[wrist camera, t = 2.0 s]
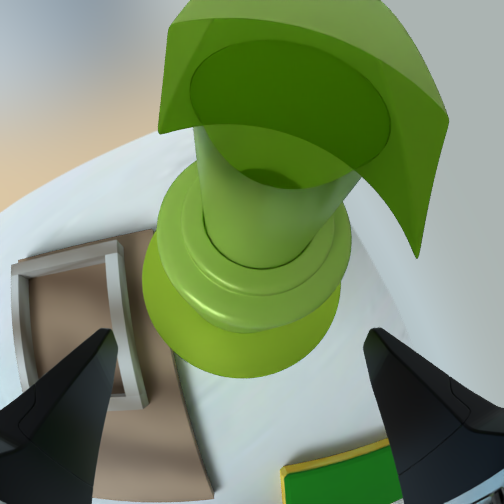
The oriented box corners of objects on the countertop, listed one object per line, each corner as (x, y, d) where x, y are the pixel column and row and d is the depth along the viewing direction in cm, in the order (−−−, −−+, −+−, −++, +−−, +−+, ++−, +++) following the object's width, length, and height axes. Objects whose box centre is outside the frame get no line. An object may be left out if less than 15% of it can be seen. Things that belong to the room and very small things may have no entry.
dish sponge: (415, 478, 17) (428, 485, 14) (283, 522, 15) (289, 536, 13) (419, 422, 19) (434, 426, 16) (278, 464, 17) (284, 476, 15)
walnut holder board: (214, 493, 15) (213, 508, 13) (70, 488, 13) (58, 499, 11) (155, 233, 22) (147, 220, 19) (24, 263, 19) (8, 254, 17)
